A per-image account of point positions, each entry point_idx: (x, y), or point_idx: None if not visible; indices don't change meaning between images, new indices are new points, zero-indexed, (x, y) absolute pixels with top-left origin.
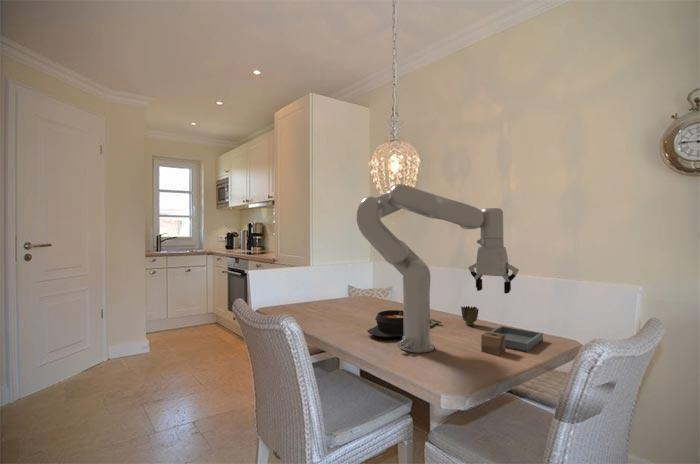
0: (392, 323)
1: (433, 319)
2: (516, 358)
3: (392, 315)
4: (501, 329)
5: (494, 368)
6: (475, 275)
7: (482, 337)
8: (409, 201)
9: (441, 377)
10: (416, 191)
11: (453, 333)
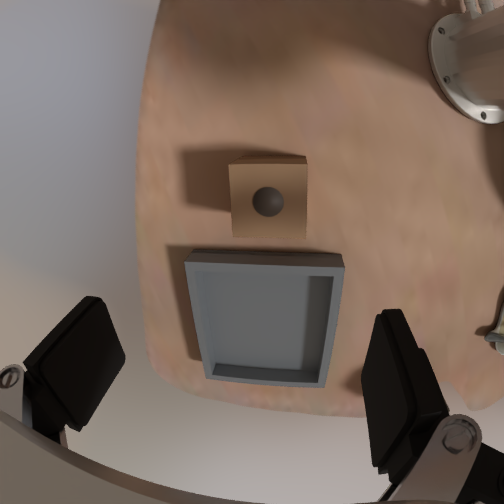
0: None
1: (501, 348)
2: (190, 171)
3: None
4: (318, 372)
5: (201, 40)
6: (469, 472)
7: (302, 163)
8: None
9: None
10: None
11: (445, 287)
